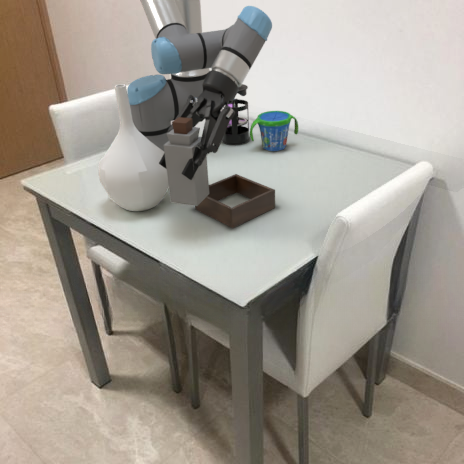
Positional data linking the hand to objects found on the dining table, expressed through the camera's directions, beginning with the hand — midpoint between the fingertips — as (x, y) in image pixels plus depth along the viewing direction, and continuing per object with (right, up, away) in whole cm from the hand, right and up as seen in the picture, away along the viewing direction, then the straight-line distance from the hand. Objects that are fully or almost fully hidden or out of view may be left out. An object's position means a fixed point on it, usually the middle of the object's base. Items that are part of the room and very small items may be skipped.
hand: (174, 171), depth 111 cm
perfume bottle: (+3, -5, +6) cm, 8 cm away
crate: (+13, -5, +18) cm, 23 cm away
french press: (+14, +25, +58) cm, 65 cm away
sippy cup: (+26, +20, +51) cm, 60 cm away
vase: (-12, -3, +23) cm, 26 cm away
